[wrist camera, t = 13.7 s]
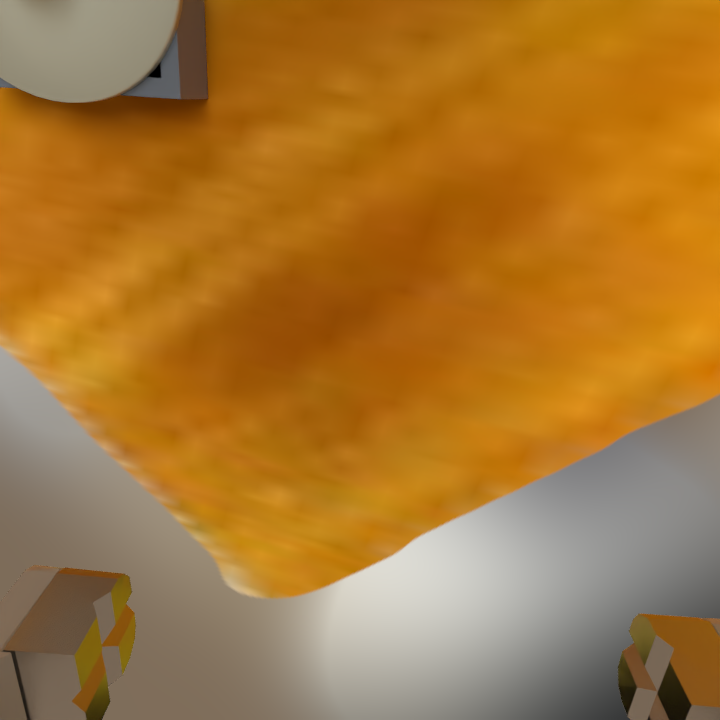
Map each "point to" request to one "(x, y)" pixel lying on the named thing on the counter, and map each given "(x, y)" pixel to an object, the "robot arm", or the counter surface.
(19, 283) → the counter surface
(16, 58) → the lid
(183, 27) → the grey storage tray
